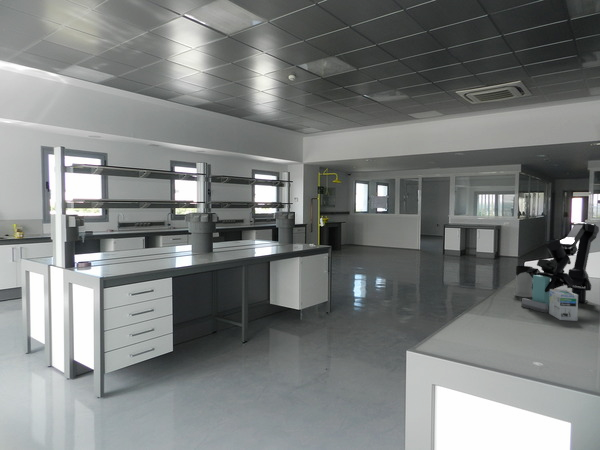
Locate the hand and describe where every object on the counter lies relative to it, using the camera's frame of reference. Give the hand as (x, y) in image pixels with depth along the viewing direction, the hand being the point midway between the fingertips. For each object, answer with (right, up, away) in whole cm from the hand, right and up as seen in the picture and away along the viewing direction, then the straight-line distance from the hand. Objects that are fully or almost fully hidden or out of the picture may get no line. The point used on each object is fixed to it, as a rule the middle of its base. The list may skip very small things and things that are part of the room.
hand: (538, 290), depth 176 cm
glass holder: (+11, -8, +32) cm, 35 cm away
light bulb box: (+2, -9, -14) cm, 16 cm away
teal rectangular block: (+1, -7, +1) cm, 7 cm away
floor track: (+1, -8, +1) cm, 9 cm away
